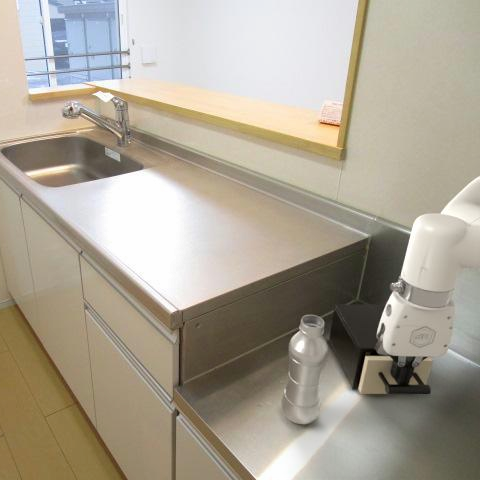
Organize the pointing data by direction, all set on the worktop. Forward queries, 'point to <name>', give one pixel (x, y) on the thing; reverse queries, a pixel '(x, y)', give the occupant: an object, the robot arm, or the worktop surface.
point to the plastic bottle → (305, 371)
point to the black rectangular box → (354, 336)
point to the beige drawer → (381, 382)
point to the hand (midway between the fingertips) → (399, 379)
